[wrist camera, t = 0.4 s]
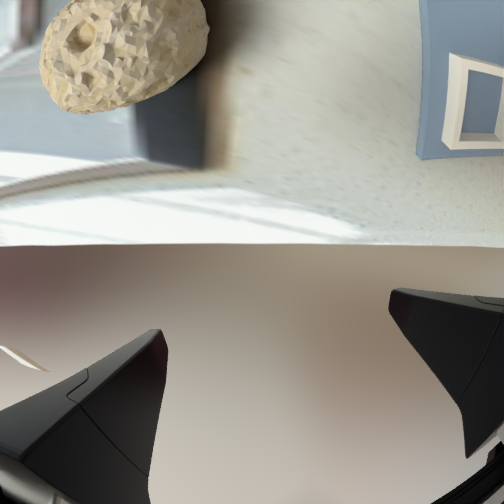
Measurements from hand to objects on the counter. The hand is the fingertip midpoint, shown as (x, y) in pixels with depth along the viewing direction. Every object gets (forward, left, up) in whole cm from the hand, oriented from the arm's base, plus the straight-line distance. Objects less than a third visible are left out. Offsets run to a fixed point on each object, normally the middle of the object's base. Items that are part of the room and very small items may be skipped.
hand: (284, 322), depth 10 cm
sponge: (-10, -5, -15) cm, 19 cm away
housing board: (-6, +20, -14) cm, 25 cm away
